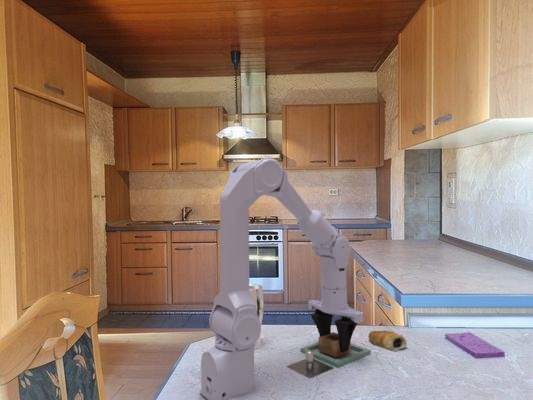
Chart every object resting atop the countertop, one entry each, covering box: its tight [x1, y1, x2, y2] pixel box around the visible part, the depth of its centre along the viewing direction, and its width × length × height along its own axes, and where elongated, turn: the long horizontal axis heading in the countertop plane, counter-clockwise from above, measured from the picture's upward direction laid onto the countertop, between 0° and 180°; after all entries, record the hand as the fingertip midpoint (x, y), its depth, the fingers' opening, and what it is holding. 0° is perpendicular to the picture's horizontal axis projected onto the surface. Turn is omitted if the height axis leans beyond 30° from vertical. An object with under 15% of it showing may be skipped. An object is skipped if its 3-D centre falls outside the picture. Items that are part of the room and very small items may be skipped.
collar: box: [318, 331, 352, 358], centre depth 82 cm, size 5×5×3 cm
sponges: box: [444, 331, 506, 360], centre depth 87 cm, size 7×13×2 cm, turn 4°
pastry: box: [368, 329, 407, 353], centre depth 90 cm, size 9×7×4 cm
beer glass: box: [249, 283, 264, 350], centre depth 88 cm, size 7×7×15 cm
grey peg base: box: [286, 350, 335, 379], centre depth 75 cm, size 7×7×4 cm
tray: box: [299, 341, 372, 369], centre depth 82 cm, size 11×11×2 cm
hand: (335, 347), depth 82 cm, fingers closed on collar, 5 cm apart
